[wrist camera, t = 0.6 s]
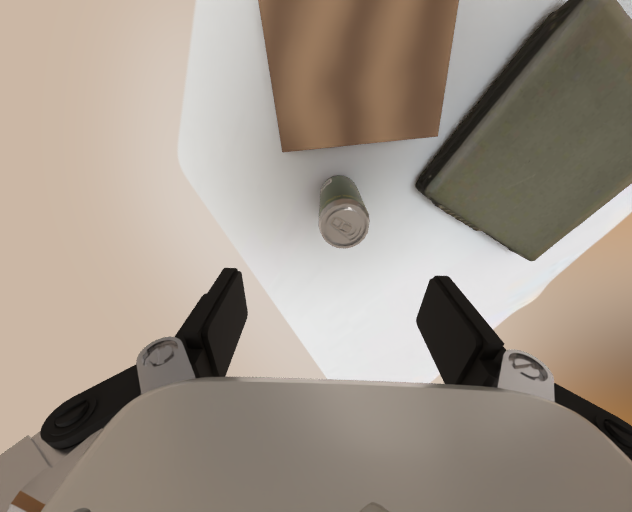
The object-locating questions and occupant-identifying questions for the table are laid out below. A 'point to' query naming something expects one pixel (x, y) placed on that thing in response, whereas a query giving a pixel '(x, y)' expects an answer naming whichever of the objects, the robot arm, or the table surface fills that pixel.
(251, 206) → the table surface
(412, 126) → the wooden block
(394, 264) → the table surface
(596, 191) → the network switch
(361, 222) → the beer can
